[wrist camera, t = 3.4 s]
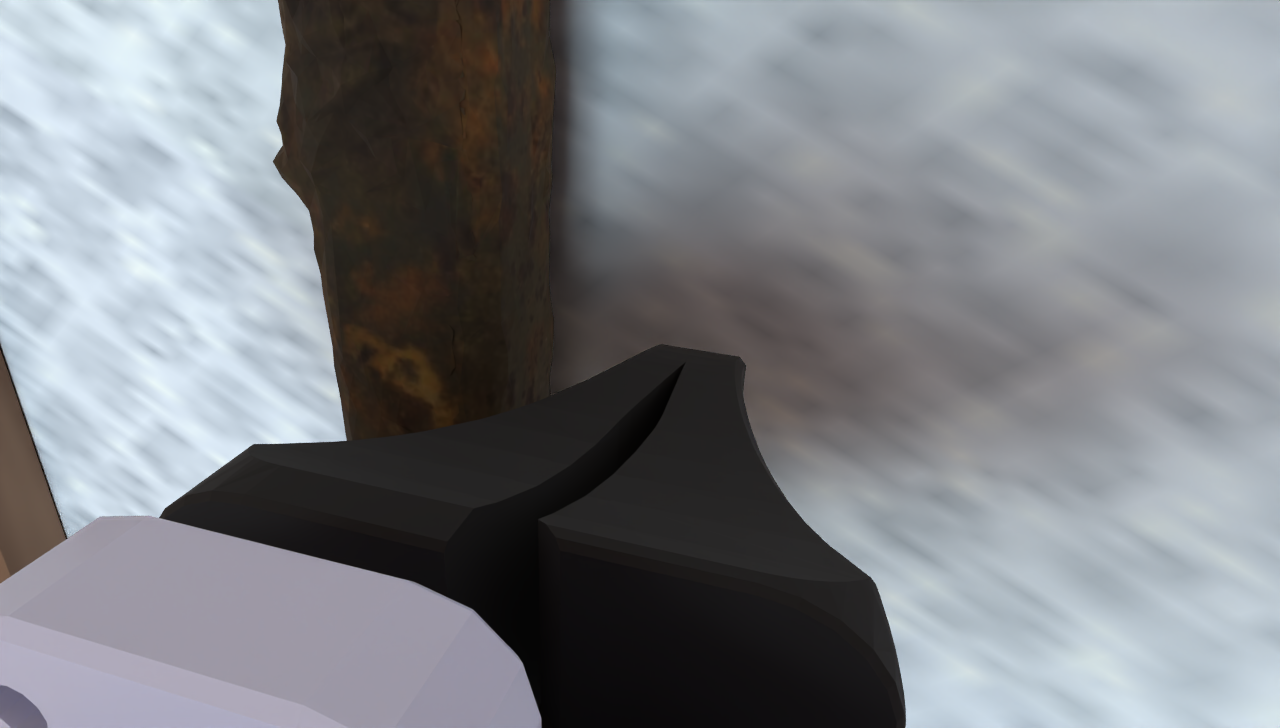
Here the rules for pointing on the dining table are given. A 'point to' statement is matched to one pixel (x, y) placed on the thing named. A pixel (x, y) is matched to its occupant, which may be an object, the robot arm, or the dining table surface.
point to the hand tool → (425, 200)
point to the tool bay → (22, 490)
